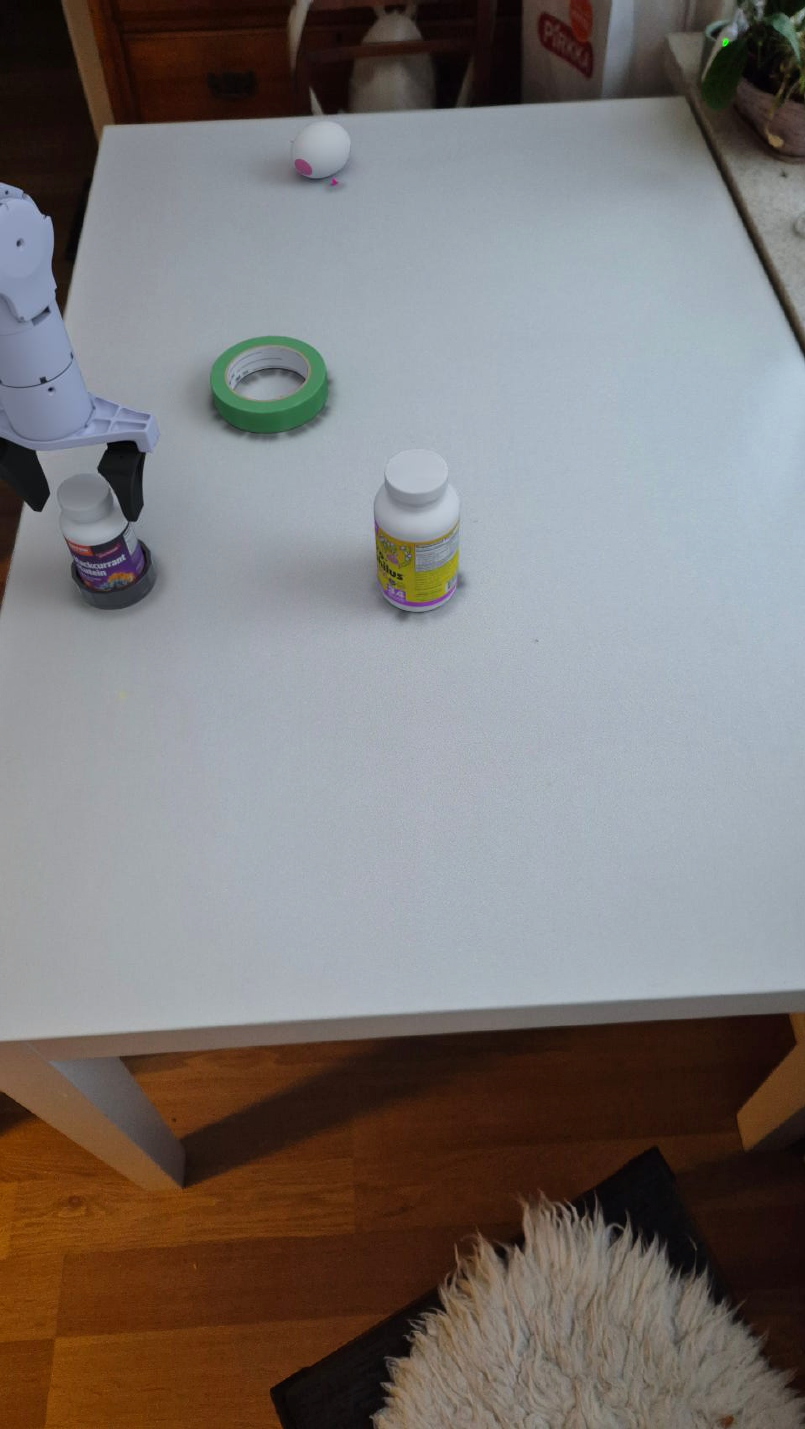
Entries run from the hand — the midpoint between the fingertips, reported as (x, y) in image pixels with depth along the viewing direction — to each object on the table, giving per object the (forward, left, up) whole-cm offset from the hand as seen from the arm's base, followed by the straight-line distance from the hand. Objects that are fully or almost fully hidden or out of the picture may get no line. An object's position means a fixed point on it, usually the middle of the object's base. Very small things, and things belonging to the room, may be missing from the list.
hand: (88, 507), depth 78 cm
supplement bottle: (+25, -7, -9) cm, 27 cm away
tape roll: (+17, +20, -9) cm, 27 cm away
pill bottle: (0, 0, -8) cm, 8 cm away
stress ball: (+29, +58, -9) cm, 65 cm away
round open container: (0, 0, -8) cm, 8 cm away
